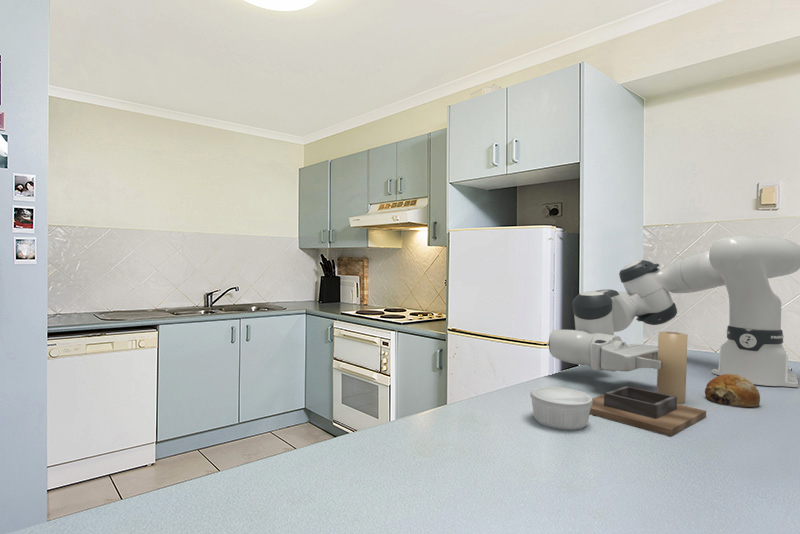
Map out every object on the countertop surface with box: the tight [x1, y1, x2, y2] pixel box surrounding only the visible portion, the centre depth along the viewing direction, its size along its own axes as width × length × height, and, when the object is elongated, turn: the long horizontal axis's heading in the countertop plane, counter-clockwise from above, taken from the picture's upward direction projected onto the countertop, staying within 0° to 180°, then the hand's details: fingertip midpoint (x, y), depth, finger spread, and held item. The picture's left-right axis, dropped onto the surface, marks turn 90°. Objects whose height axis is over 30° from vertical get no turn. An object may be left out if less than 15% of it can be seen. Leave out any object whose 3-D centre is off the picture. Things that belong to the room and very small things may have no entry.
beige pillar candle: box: [656, 331, 688, 405], centre depth 103 cm, size 6×6×15 cm
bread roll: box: [704, 374, 761, 409], centre depth 103 cm, size 10×10×8 cm
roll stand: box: [589, 385, 707, 437], centre depth 93 cm, size 18×18×4 cm
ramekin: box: [529, 386, 593, 431], centre depth 87 cm, size 11×11×5 cm
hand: (669, 362), depth 103 cm, fingers open, 8 cm apart
